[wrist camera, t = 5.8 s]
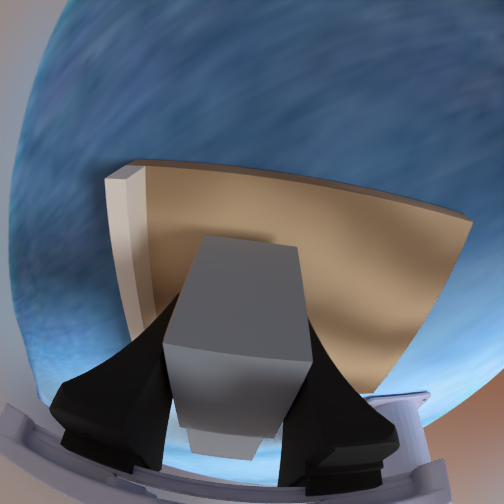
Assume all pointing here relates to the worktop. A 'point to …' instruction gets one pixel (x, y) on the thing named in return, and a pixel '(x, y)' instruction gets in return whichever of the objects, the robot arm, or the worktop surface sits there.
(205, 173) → the shelf board
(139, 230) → the rail
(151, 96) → the worktop surface
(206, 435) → the faced box
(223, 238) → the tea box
